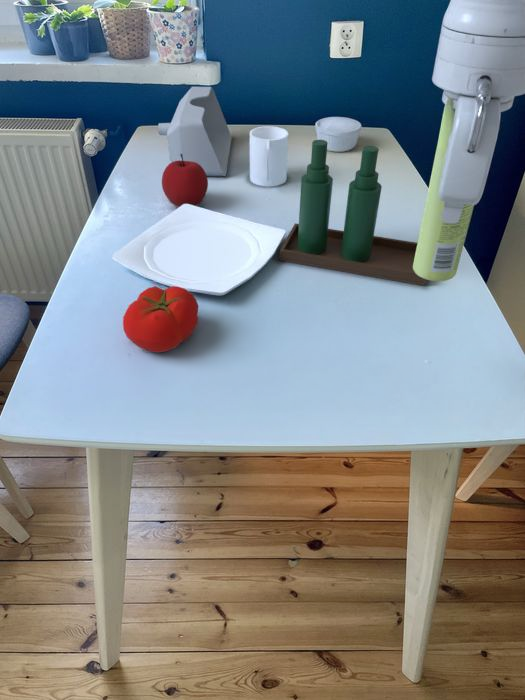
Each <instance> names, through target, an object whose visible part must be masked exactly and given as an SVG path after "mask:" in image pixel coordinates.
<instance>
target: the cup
mask: <svg viewBox="0 0 525 700" xmlns="http://www.w3.org/2000/svg"><path fill="white" fill-rule="evenodd" d="M288 151H289V131H288V130H287V129H285V128H283V127H280V126H279V127H278V126H272V125H271V126H270V125H266V126H265V125H264V126H259V127H254V128H253V129H251V130H250V131H249V180H250V182H251V183H253V184H254V185H256V186H259V187H269V188H270V187H277V186H282V185H283V184H285V183H286V182H287V174H288Z"/></svg>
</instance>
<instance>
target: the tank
mask: <svg viewBox="0 0 525 700" xmlns="http://www.w3.org/2000/svg"><path fill="white" fill-rule="evenodd" d="M157 130H158V131H157V132H158V135H159V136H166V138H167V147H168V155H169V160H170V162H171V163H172V162H174V161H182V158H181V155H180V154H182V155H183V161H191V162H196V163H198V164H199V165H201V167H202V168H203V169H204V171H205V173H206V176H207V177H226V176H227V170H228V164H229V158H230V150H231V145H232V135H231V132H230V129H229V127H228V124H227V122H226V119H225V117H224V113H223V111H222V108H221V106H220V103H219V100H218V98H217V96H216V93H215V90H214V89H213V87H212V86H191V87H190V89H189V90H188V91H187V92H186V93H185V94H184V96H183V97H182V98H181V99H180V100H179V102H178V105H177V107H176V109H175V112H174V114H173V117H172V119H171V121H170V122H158V126H157Z"/></svg>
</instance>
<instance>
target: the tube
mask: <svg viewBox="0 0 525 700" xmlns="http://www.w3.org/2000/svg"><path fill="white" fill-rule="evenodd" d="M452 100H453V98H449V99H447V100H446V104H444V108H443V112H442V118H441V123H440V128H439V134H438V140H437V145H436V149H435V154H434V159H433V164H432V170H431V175H430V179H429V185H428V189H427V190H428V191H427V195H426V200H425V205H424V209H423V214H422V219H421V224H420V229H419V233H418V239H417V242H416V243H417V248H416V253H415V258H414V263H413V270H414V272H415V273H416V274H417V275H418V276H420V277H422V278H424V279H426V281H427V280H428V281H431V282H445V281H449V280H451V279H453V278H454V277H455V276H456V274H457V272H458V268H459V265H460V260H461V257H462V253H463V249H464V245H465V242H466V238H467V234H468V230H469V227H470V222H471V218H472V215H473V210H474V207H475V205H467V204H465V205H464V207H463V209H462V213H461V216H460V220H459V222H458V223H456V224H452V223H445V222H443V221H442V220H441V216H442V211H443V206H444V201H441V200H440V199H439V186H440V180H441V173H442V167H443V162H444V158H445V153H446V149H447V145H448V141H449V137H450V132H451V131H452V127H453V121H454V115H455V109H453V108H452V107H451V103H452ZM467 151H468V153H474V152H475V151H473V152H469V150H467Z"/></svg>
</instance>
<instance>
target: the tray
mask: <svg viewBox="0 0 525 700" xmlns="http://www.w3.org/2000/svg"><path fill="white" fill-rule="evenodd" d="M298 229H299V223H296V222H295V223H294V224H293V226H292V228H291V230H290V232H289V233H288V235H287V236H286V238H285V240H284V242H283V244H282V245H281V248H279V261H281V262H285V263H291V264H297V265H303V266H309V267H315V268H320V269H326V270H331V271H337V272H342V273H348V274H354V275H358V276H359V275H361V276H366V277H370V278H371V277H372V278H377V279H382V280H388V281H389V280H390V281H394V282H400V283H406V284H411V285H417V286H422V287H425V286H426V284H427V283H426V282H427V279H424V278H422V277H420V276H418V275H417V274H416V273H415V272H414V270H413V263H414V258H415V253H416V248H417V243H418V242H415V241H408V240H402V239H396V238H390V237H384V236H378V235H374V237H373V244H372V250H371V256H370V258H369V260H367V261H365V262H355V261H350V260H345V259H344V258H343V257H342V256H341V249H342V241H343V232H344V230H339V229H334V228H328V236H327V246H326V250H325V252H323V253H322V254H319V255H314V254H309V253H303V252H300V251H299V250H298V247H297V246H298Z"/></svg>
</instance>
